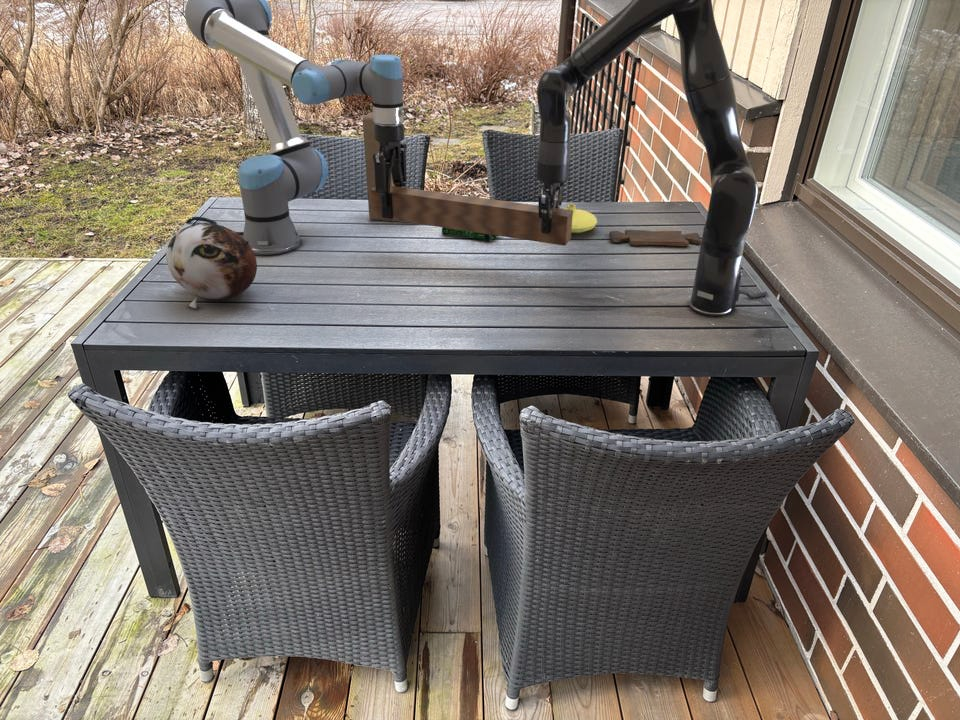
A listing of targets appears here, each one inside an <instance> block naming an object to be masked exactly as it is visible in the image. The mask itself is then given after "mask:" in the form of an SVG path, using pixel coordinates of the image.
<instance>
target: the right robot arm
mask: <svg viewBox="0 0 960 720" xmlns="http://www.w3.org/2000/svg"><path fill="white" fill-rule="evenodd" d="M713 7H714V6H713V1H712V0H631V1H630V2H629V3H628V4H627V5H625V6H624V7H623V8H622V9H621V10H619V12H618V13H616V14H615V15H613V16H612V17H611V18H610V19H608V20H607V21H606V22H604V23H603V24H602V25H600V26H599V27H598V28H596V29H595V30H594V31H593V32H592V33H591V34H589V35H588V36H587V37H586V38H585V39H583V41H581V42H580V43H579V44H578V45H577V46H576V47H575V48H574V49H573V51H572V53H571V55H570V56H569V57H567V58H566V59H565V60H564V61H563V62H562V63H560V64H558V65H557V66H555V67H551V68H548V69H546V70H545V71H543V72H542V74H541V75H540V76H539V79H538V82H537V87H536V98H537V107H538V112H539V113H538V114H539V118H540V124H539V138H538V139H539V140H538V145H537V158H536V175H535V177H536V179H537V180H538V181H539V182H542V183H543V186H542V187H541V191H540V193H539V194H538V196H537V202H538V209H539V215H538V216H539V218H542V223H541V232H542V233H546V234H549V233H550V232H551V218H552V212H553V209H555V208H560V207H561V206H562V204H563V201H562V200H563V193H564V186H565V182H567V181H568V180H569V177H570V176H569V175H570V160H571V135H572V117H571V115H570V114H569V113H568V112H567V99H569V98H571V97H572V96H574V95H575V94H576V93H577V92H578V91H579V90H581V89H582V88H583V87H584V86H585V85H586V84H587V83H588V82H589V81H590V80H591V79H592V78H593V77H594V76H595V75H597V74H598V73H600V72H601V71H603V70H604V69H605V68H606V67H608V66H609V65H610V64H611V63H612V62H614V61H615V60H616V59H617V58H618V57H619V56H621V54H623V53H624V52H625V51H626V50H628V48H629V47H630V46H631V45H632V44H634V42H635V41H636V40H638V39H639V38H640V37H641V36H642V35H643V34H645V33H646V32H647V31H648V30H650V29H651V28H652V27H654V26H656V25H657V24H659V23H660V22H662V21H663V20H665V19H667V18H669V17H671V16H672V17H673V20H674V23H675V26H676V30H677V33H678V39H679V40H678V41H679V51H680V55H679V57H680V73H681V81H682V85H683V86H682V87H683V91H684V94H685V98H686V101H687V106H688V108H689V112H690V116H691V117H692V120H693V123H694V126H695V128H696V129H697V131H698V134H699V136H700V138H701V140H702V142H703V145H704V149H705V151H706V157H707V162H708V167H709V175H710V190H711V192H710V197H709V203H708V210H707V214H706V220H705V223H704V226H703V230H702V236H701V240H700V247H699V253H698V259H697V263H696V269H695V274H694V281H693V285H692V291H691V296H690V300H689V308H691V309H692V310H693V311H694V312H696V313H697V314H701V315H704V316H710V317H722V316H726V315H729V314H731V312H735V309H736V304H737V303H738V302H739V299H740V295H745V296H747V297H748V298H750V299H756V298H760V297H763V296H767V295H768V292H767V291H762V292H759V293H756V294H751V293H750V292H748V291H745V290H741V289H740V287H741V282H742V278H743V273H742V271H740V269H741V264H742V258H743V254H744V250H745V245H746V241H747V237H748V233H749V231H750V229H751V225H752V220H753V217H754V212H755V209H756V205H757V204H756V203H757V199H758V193H759V187H758V182H757V178H756V175H755V173H754V170H753V168H752V167H751V163H750V160H749V158H748V156H747V153H746V150H745V147H744V145H743V141H742V138H741V137H742V136H741V133H740V121H739V110H738V102H737V96H736V90H735V87H734V82H733V78H732V75H731V70H730V66H729V63H728V61H727V55H726V53H725V49H724V46H723V43H722V39H721V36H720V34H719V30H718V27H717V23H716V19H715V14H714V8H713ZM560 209H561V208H560ZM545 210H546V211H547V213H544V211H545Z"/></svg>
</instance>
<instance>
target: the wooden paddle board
mask: <svg viewBox="0 0 960 720" xmlns="http://www.w3.org/2000/svg"><path fill="white" fill-rule="evenodd" d="M608 235H609V239H610V241H611V243H614V244H620V243H625V242H628V243H629V245H630V246H648V245H649V246H676V247H686V246H687V247H688V246H690V245H689V244H690V243H691V244H696V245H701V237H700V234H699V233H697V232H692V233H685V234H682V230H643V229H642V230H640V229H624V232H621V231H619V230H611V231H609V233H608Z"/></svg>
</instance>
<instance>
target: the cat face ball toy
mask: <svg viewBox="0 0 960 720" xmlns="http://www.w3.org/2000/svg"><path fill="white" fill-rule="evenodd" d="M236 232H237V231H234V230H233V229H231V228H229V227H226V226H223V225H220V224H217V225H216V224H212V223H205V222H204V223H195V224H191V225H188V226H186V227H183V228H182V229H180V230H179V231H177V232H176V233H175V234H174V235H173V237H171V239H170V241H169V243H168V245H167V248H166V254H165V260H166V265H167V268H168V271H169V273H170V275H171V276H172V277H173V279H174V280H175V281H176V282H177V284H178V285H180V286H181V287H182V288H183V289H185V290H186V291H187V292H189V293H191V294H194V295H195V298H194V299H193V300H192V302H190V303H189V304H188V306H189V307H191V308H192V309H197V308H198V307H197V298H198V297H201V298H205V299H210V300H226V299H230V298H233V297H236V296H238V295H241V294H242V293H244V292H245V291H247V290H248V289H249V288H250V286H251V285H252V284H253V282H254V280H255V278H256V275H257V271H258V262H257V257H256V254H254V252H253V250H252V248H251V247H250V245H249V244H248V242H249V241H246V240H245V239H244V238H243V236H242V235H239V234H237V233H236Z"/></svg>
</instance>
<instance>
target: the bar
mask: <svg viewBox="0 0 960 720" xmlns="http://www.w3.org/2000/svg"><path fill="white" fill-rule="evenodd" d="M390 193H392V208H393V218H392V219H390V220H396V221H395V222H402V221H403V223H409V224H418V225H423V226H431V227H437V228H442V227H443V228H450V229H456V230H463V231H470V232H476V233H483V234H490V235H496V236H497V237H505V238H511V239H518V240H524V241H530V242H538V243H544V244H551V245H557V246H564V247H565V246H567V244H568V243H569V242H570V241H571V239H572V233H571V229H572V217H573V210H568V209H567V208H555V209H553V212H552V218H551V232H550V233H549V234H546V233H542V232H541V223H542V218H539V216H538V215H539V209H538V205H536V204H529V203H522V202H515V201H507V200H501V199H500V200H499V199H494V198H493V199H492V198H485V197H478V196H469V195H462V194H455V193H448V192H440V191H431V190H425V189H418V188H409V187H403V186H402V187H395V186H390ZM371 205H372V217H376V218H383V217H382V201H381V194H380V193H376V188H375V187H374V188H372V189H371ZM544 213H547V211H546V210H545V211H544ZM383 219H389V218H383Z"/></svg>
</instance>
